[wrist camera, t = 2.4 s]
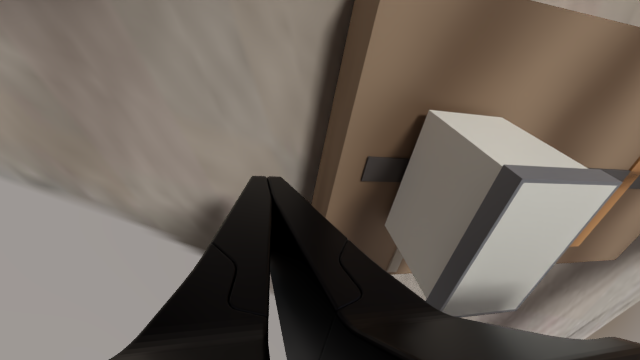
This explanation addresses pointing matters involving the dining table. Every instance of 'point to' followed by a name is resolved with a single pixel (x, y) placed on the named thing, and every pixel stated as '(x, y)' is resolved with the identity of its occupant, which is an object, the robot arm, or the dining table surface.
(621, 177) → the fader console
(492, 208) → the fader tab
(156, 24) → the dining table surface
